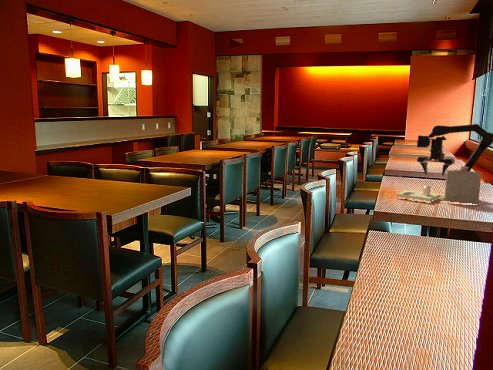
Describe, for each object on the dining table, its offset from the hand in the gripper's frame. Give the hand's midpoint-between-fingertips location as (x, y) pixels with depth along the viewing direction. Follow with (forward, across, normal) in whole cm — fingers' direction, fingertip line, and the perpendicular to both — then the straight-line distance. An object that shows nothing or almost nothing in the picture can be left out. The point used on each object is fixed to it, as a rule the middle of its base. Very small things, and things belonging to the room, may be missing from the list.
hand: (434, 175), depth 239 cm
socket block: (+12, +3, +15) cm, 19 cm away
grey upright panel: (+12, -18, +12) cm, 25 cm away
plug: (+12, -2, +15) cm, 19 cm away
